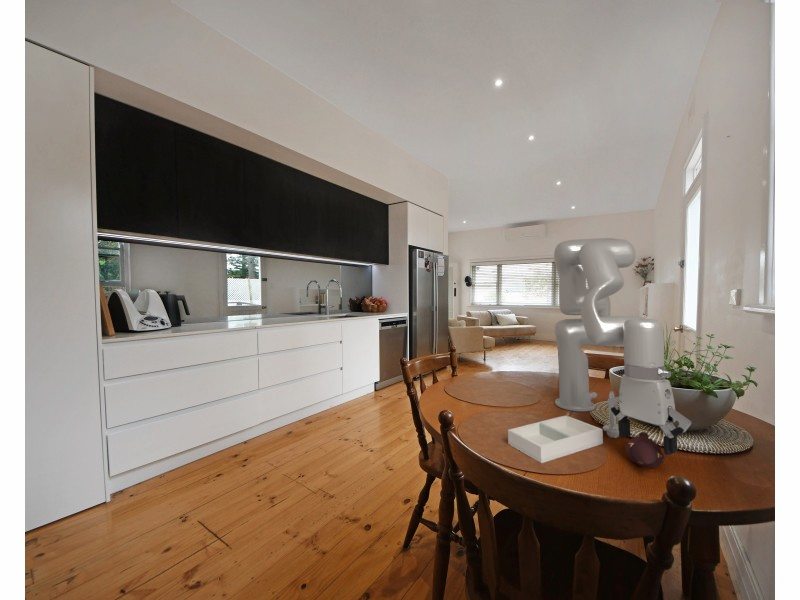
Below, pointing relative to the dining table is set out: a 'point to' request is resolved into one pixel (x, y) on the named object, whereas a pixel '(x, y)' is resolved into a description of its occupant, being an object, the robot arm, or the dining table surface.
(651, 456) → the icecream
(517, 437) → the white divided tray
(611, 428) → the screw
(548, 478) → the dining table surface
